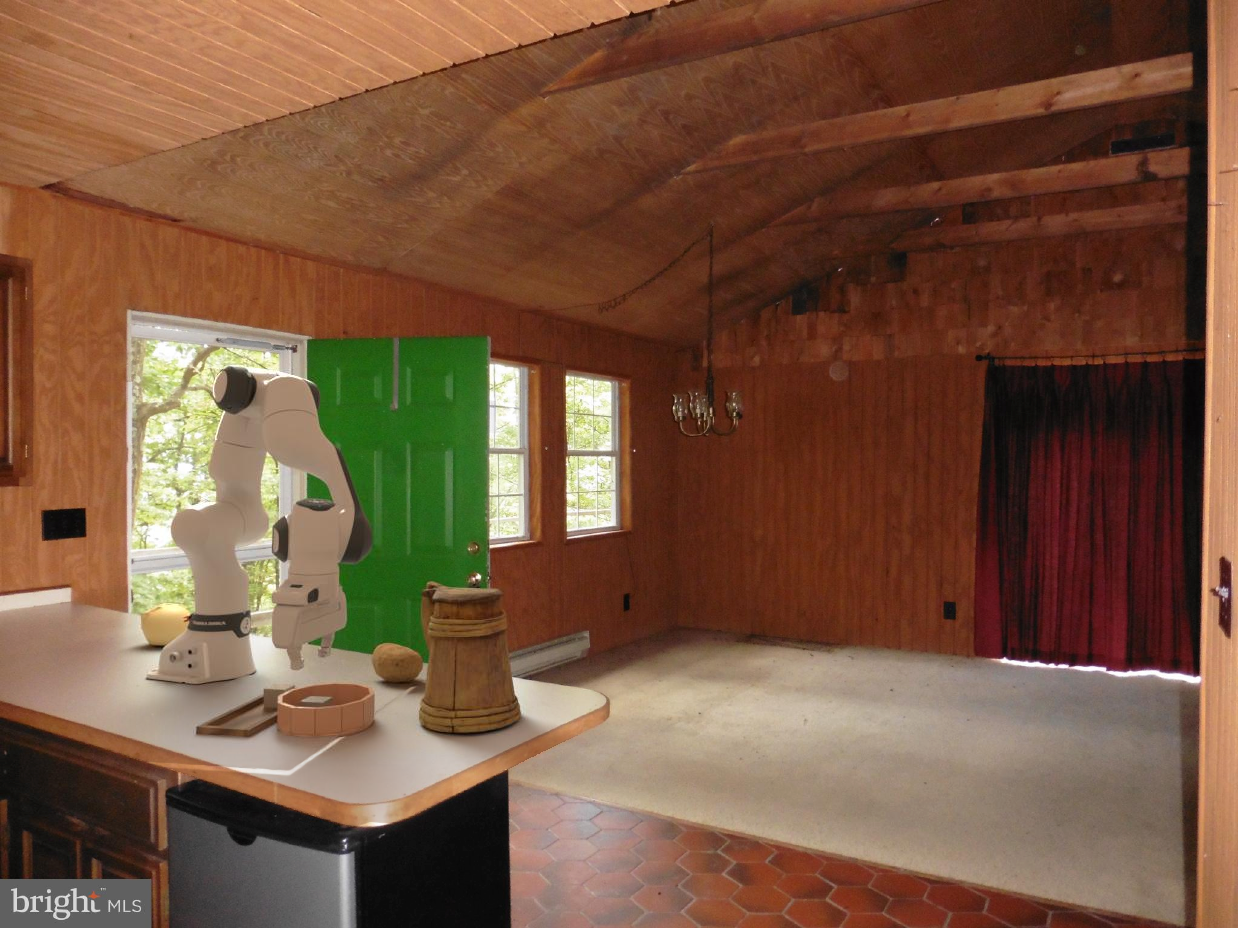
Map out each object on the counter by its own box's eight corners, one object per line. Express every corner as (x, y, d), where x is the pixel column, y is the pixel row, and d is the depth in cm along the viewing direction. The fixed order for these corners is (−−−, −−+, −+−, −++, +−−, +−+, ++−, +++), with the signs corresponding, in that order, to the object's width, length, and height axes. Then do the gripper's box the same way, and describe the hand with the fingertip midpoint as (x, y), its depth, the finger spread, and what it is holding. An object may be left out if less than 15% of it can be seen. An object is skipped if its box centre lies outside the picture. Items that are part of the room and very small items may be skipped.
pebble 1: (300, 721, 150) (300, 701, 150) (310, 715, 154) (310, 695, 154) (322, 722, 150) (322, 702, 150) (332, 716, 153) (332, 696, 153)
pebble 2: (263, 707, 160) (263, 688, 160) (273, 701, 163) (274, 683, 163) (284, 708, 159) (284, 689, 159) (294, 702, 163) (294, 684, 163)
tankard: (472, 743, 142) (473, 598, 142) (381, 718, 155) (382, 586, 155) (539, 717, 157) (540, 586, 157) (451, 696, 170) (452, 575, 170)
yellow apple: (179, 637, 224) (179, 598, 224) (201, 643, 217) (202, 602, 217) (134, 645, 215) (134, 603, 215) (156, 651, 208) (156, 608, 208)
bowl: (258, 737, 144) (258, 705, 144) (307, 709, 161) (307, 680, 161) (347, 742, 142) (348, 710, 142) (388, 713, 158) (388, 684, 158)
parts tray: (196, 737, 144) (196, 726, 144) (278, 695, 170) (278, 686, 170) (249, 740, 143) (249, 729, 143) (323, 697, 168) (323, 688, 168)
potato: (395, 692, 173) (395, 654, 173) (361, 680, 182) (361, 644, 182) (435, 683, 180) (435, 647, 180) (400, 672, 189) (400, 637, 189)
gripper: (326, 578, 162) (324, 648, 162) (265, 595, 142) (263, 675, 142) (356, 580, 161) (354, 650, 161) (299, 597, 141) (297, 678, 141)
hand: (311, 662), depth 151 cm, fingers open, 8 cm apart
